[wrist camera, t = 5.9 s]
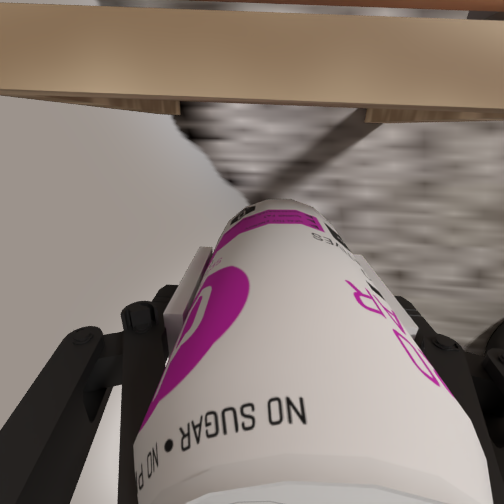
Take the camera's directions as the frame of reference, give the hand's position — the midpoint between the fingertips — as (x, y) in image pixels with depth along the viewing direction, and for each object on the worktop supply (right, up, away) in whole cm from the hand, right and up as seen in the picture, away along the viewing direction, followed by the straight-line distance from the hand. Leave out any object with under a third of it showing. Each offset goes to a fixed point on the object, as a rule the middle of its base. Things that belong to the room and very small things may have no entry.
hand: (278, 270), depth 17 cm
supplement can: (0, +1, +2) cm, 3 cm away
